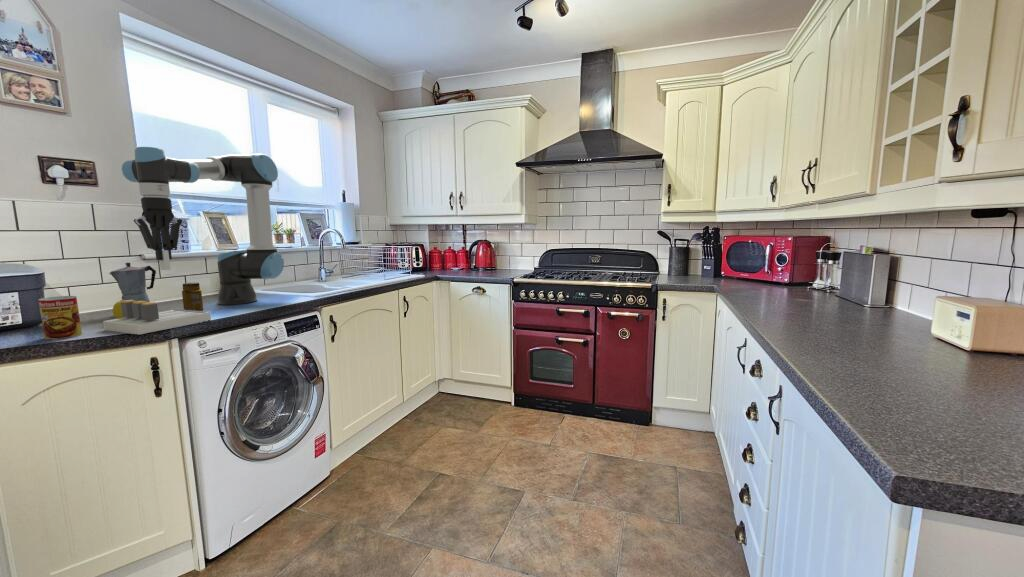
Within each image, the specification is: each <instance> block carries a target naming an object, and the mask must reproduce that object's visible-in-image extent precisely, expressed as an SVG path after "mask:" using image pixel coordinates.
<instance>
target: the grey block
mask: <svg viewBox="0 0 1024 577" xmlns="http://www.w3.org/2000/svg"><path fill="white" fill-rule="evenodd" d="M140 306H141V313H142V320H145V321H150V320H156V319H159V315H158V312H159V308H158V304H157V303H156V302H154V301H153V302H152V301H150V302H147V303H142V305H140Z"/></svg>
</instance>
